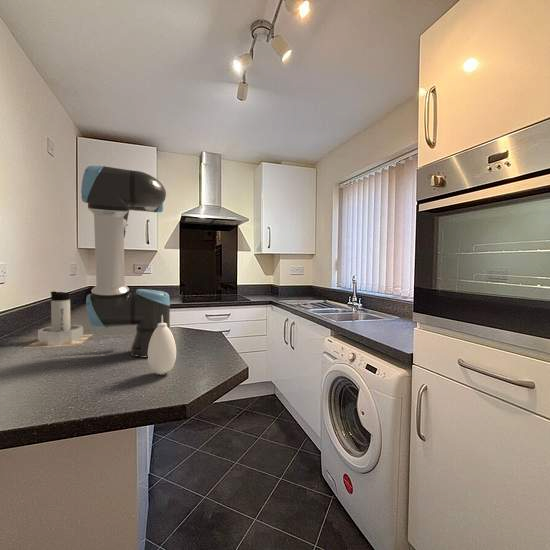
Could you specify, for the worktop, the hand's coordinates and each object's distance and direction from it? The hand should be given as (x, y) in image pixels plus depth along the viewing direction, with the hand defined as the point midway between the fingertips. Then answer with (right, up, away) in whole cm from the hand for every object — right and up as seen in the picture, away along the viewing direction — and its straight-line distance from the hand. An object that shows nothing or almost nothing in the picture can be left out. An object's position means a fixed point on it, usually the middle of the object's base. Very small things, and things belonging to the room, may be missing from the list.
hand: (108, 272), depth 132 cm
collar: (-12, -28, -13) cm, 33 cm away
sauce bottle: (+41, -31, -45) cm, 68 cm away
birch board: (-12, -29, -13) cm, 34 cm away
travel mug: (-13, -28, -12) cm, 33 cm away
